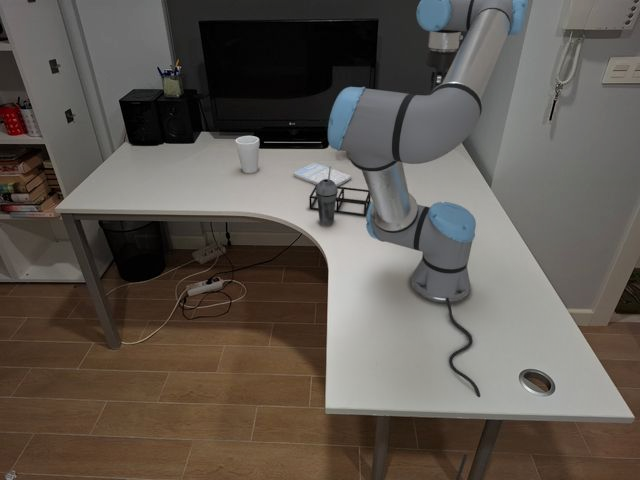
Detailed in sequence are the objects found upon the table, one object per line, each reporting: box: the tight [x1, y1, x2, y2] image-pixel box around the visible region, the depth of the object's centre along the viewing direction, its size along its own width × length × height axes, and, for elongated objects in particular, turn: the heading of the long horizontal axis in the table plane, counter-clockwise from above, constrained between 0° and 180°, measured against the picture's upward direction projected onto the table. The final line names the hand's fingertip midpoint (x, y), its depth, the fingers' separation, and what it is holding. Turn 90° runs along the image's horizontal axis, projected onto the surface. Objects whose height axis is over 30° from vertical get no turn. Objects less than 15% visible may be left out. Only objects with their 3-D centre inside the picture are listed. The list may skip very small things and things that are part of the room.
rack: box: [308, 184, 371, 217], centre depth 157 cm, size 10×20×5 cm, turn 76°
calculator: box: [293, 162, 352, 187], centre depth 178 cm, size 13×20×2 cm, turn 49°
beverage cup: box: [315, 166, 339, 226], centre depth 144 cm, size 7×7×20 cm
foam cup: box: [234, 135, 260, 174], centre depth 181 cm, size 10×9×13 cm
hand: (431, 131), depth 123 cm, fingers open, 13 cm apart
